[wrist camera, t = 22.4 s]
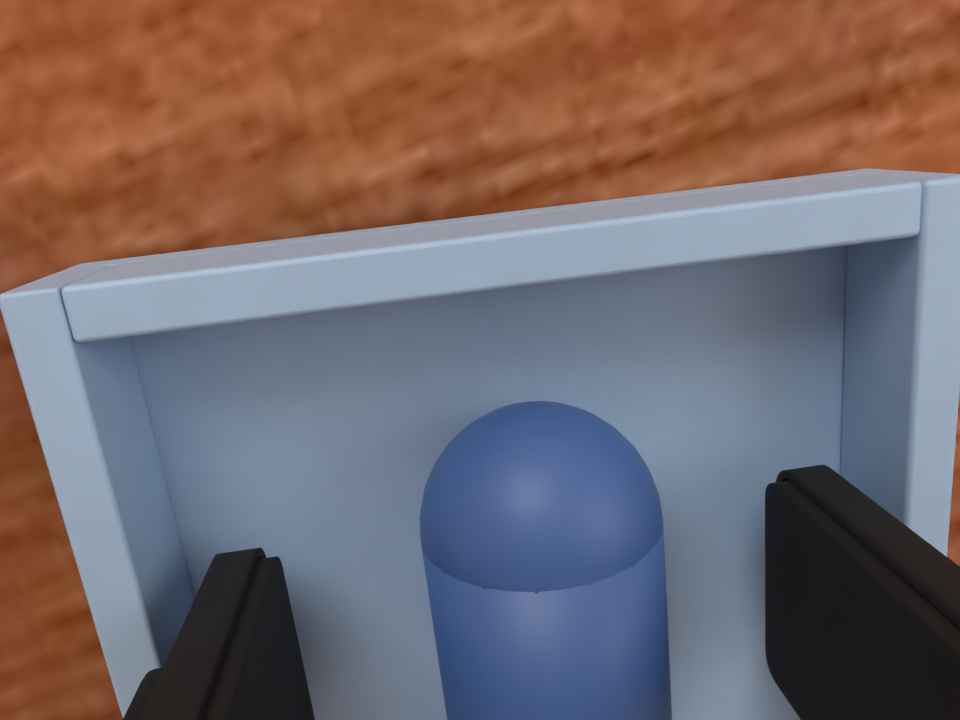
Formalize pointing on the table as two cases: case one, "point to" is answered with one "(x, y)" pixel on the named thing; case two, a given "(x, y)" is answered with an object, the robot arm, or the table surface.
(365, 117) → the table surface
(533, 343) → the blue tray
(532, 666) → the blue stamp block
